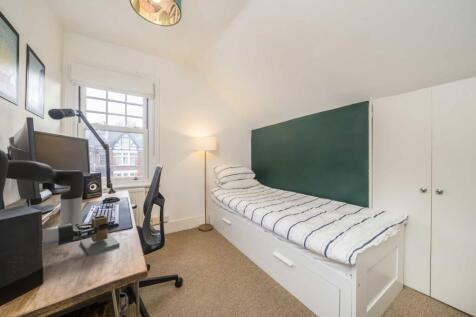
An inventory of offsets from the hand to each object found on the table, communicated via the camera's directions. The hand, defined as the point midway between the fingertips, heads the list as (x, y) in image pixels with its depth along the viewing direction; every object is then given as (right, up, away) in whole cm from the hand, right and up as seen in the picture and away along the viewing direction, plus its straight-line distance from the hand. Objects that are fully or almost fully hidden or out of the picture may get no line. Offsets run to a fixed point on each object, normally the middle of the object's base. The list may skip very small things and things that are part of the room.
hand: (106, 224), depth 86 cm
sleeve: (-2, -6, -2) cm, 7 cm away
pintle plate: (-2, -9, -2) cm, 9 cm away
